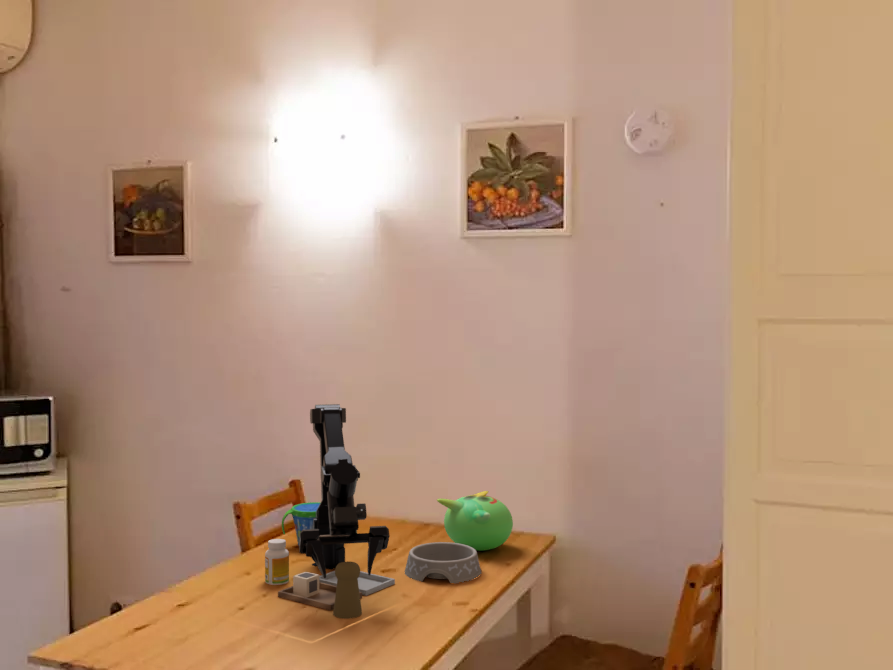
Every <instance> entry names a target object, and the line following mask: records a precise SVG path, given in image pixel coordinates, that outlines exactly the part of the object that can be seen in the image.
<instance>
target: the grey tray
mask: <svg viewBox="0 0 893 670" xmlns="http://www.w3.org/2000/svg"><path fill="white" fill-rule="evenodd" d="M337 580H338V579H337V578H336V575H335V570H332V571H330V572H326V578H324V577H323V575H322V574H321V575H319V582H322V583H326V584H330V585H334V586H337ZM395 583H396V579H395V578H393V577H387V576H383V575H379V574H374V573H371V574H370V575H368V572H367V571H361V570H360V575H359V577H358V586H359V592H362V596H364V597H365V596H369V595H371V594H374V593H376V592H379V591H381V590H383V589H386V588H388V587H391V586H393V585H395Z"/></svg>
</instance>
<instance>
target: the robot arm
mask: <svg viewBox="0 0 893 670" xmlns="http://www.w3.org/2000/svg"><path fill="white" fill-rule="evenodd" d="M346 411H347V408H346V407H341V405H340V403H339V404H338V403H336V404H335V403H332V404H327V403H326V404H315V405H314V408H311V409H310V411H309V423H310V424H311V425H312V431H313V433H314V435H315V437H317V439H318V441H319V453H320V454H319V457H320V460H319V461H320V463H319V464H320V491H321V493H320V494H321V495H320V496H321V500H320V505H319V507H318V508H317V510H316V518H313V525H312V529H307V530H302V531H301V532H300V539H299V545H298V549H299V550H298V551H299V554H302V555H305V556H306V557H308V558H311V560H312V561H313V563H311V565H312V566H314V567H317V568H318V570H319V571H320V573H321V575H323V577H324V578H326V574H327V570H330V571H331V570H332V571H333V570H335V568H336V566H337V564H339V563H341V562H346V547H345V545H347V544H349V545H350V544H365V543H366V544H368V546H367V547H368V548H367V573H368V575H370V574H372V569H373V564H374V562H375V559H376V556H377V554H381V553H382V551H383V550H386V549H388V545H389V540H390V536H391V535H390V529H389V527H387V526H386V525H372V526H369V531H368V532H360V533H358V530H359V521H362V520H363V521H364V520H365V521H366V519H367V517H368V515H367V513H368V512H367V505H366V504H367V503H357V504H356V506H355V498H354V495H355V493H356V490H357V483H358V480H359V479H360V478H361V472H360V471H359V470H358V469H357V467H356V465H355V464H353V459H352V455H351V454H350V453H348V452H347V450H346V448H345V442H344V433H343V427H344V424H345V423H347V412H346Z"/></svg>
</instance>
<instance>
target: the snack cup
mask: <svg viewBox="0 0 893 670" xmlns="http://www.w3.org/2000/svg"><path fill="white" fill-rule="evenodd" d="M320 503H321V501H320V502H319V501H317V502H316V501H315V502H303V503H298V504H295V505H293V506H292V507H291V509H288V510H287V511H286V512H285V513H284V515H283V517H282V519H281V530H282V534H283V535H286V530H285V525H284V524H285V519H286V518H287V517H288V516H289V515H290V514H291V516H292V519H293V520H292V521H293V524H294V528H295V534H296V535H295V536H296V542H297V546H299V539H300V532H301V531H302V530H307V529H312V525H313V518H316V510H317V508H318V507H319V505H320Z"/></svg>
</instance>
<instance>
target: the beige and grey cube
mask: <svg viewBox="0 0 893 670" xmlns="http://www.w3.org/2000/svg"><path fill="white" fill-rule="evenodd" d="M319 576H320V574H317V573H314V572H309V571H303V572H301V573H297V574H295V575H293V576H292V579H293V580H292V581H293V582H292V583H293V584H292V586H293V594H295V595H299V596H303V597H306V598H307V597H310V596H312V595H315V594H317V593H319Z"/></svg>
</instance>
